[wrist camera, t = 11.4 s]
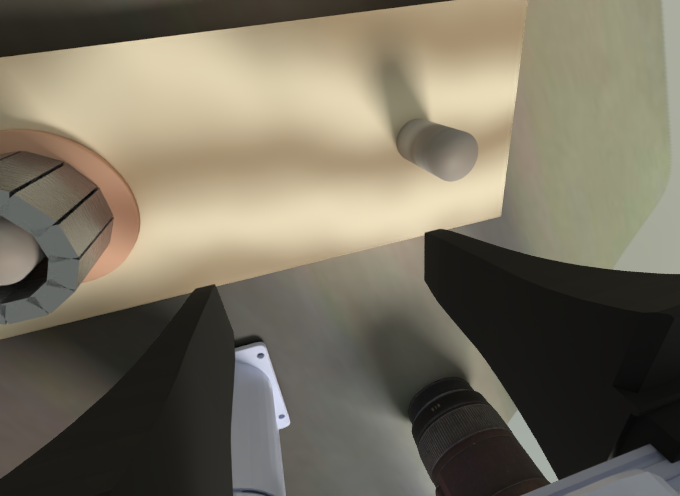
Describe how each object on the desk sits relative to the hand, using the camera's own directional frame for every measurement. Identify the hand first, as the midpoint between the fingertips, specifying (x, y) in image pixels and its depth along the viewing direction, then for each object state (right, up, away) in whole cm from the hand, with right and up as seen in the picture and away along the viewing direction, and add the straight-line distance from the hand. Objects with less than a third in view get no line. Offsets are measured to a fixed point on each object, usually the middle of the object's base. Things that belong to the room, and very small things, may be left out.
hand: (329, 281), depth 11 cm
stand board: (-5, +6, +7) cm, 10 cm away
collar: (-13, +3, +3) cm, 13 cm away
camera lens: (+10, -14, +22) cm, 28 cm away
